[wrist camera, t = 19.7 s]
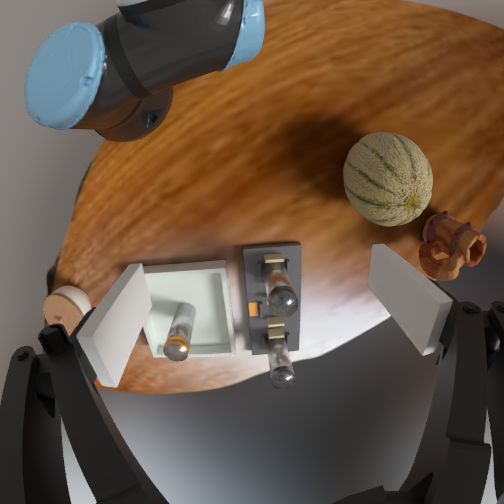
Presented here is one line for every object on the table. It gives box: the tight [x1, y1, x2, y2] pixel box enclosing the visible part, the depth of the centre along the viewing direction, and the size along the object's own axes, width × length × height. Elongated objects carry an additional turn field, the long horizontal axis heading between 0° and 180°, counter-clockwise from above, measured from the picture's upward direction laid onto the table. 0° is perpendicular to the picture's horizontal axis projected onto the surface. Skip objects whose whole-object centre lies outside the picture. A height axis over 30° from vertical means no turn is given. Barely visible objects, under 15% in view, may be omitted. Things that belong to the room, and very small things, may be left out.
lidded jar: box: [43, 286, 91, 336], centre depth 46 cm, size 11×11×9 cm
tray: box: [143, 260, 236, 357], centre depth 50 cm, size 18×20×4 cm
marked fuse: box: [163, 303, 196, 361], centre depth 46 cm, size 4×4×12 cm
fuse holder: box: [243, 242, 301, 355], centre depth 51 cm, size 10×24×4 cm, turn 4°
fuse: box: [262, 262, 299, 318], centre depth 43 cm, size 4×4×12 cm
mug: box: [419, 211, 486, 280], centre depth 42 cm, size 15×8×15 cm, turn 119°
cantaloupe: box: [343, 132, 433, 226], centre depth 37 cm, size 15×15×15 cm
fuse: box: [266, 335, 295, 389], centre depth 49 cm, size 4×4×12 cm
